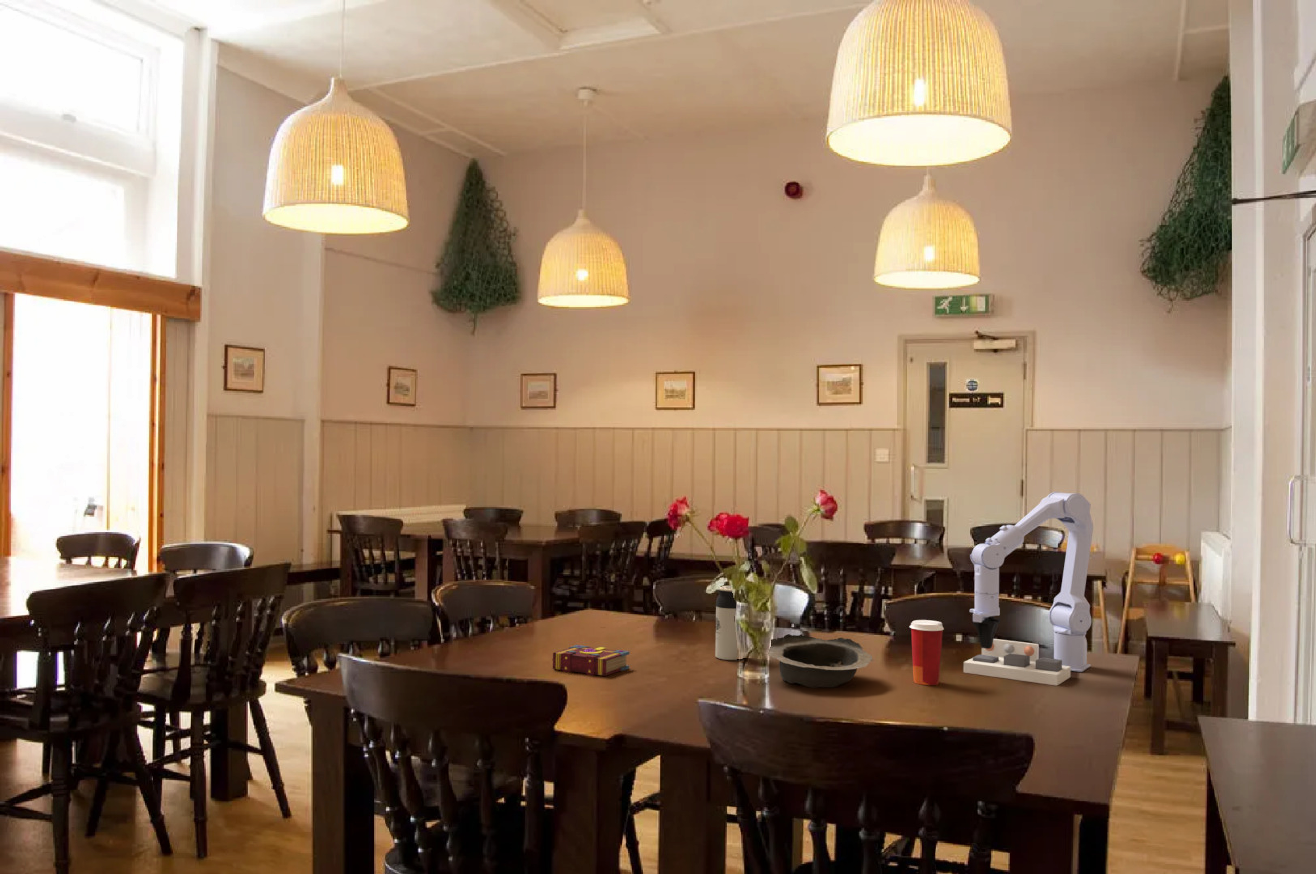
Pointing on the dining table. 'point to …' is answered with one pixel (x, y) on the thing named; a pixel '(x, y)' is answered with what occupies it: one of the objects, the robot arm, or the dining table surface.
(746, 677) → the dining table surface
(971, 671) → the button board
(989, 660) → the button mug side
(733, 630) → the travel mug
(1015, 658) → the button middle
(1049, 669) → the button cup side
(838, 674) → the stone bowl
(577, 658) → the decorative book
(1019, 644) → the card
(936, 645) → the paper cup
